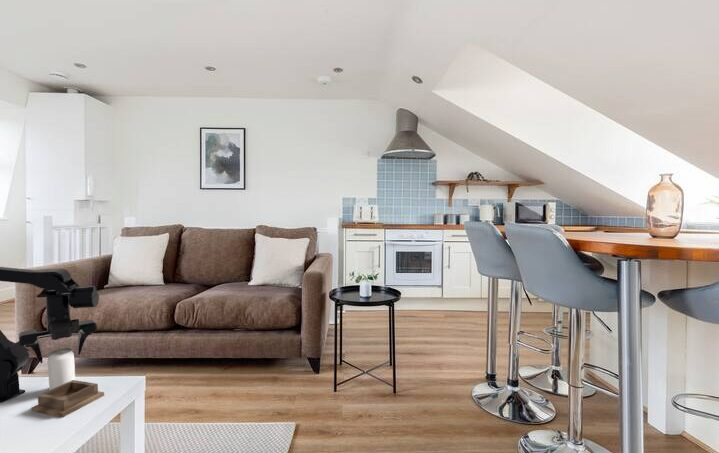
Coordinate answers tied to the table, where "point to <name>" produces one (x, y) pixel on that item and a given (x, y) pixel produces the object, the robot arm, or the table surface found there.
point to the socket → (67, 398)
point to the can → (61, 367)
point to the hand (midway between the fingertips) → (60, 358)
